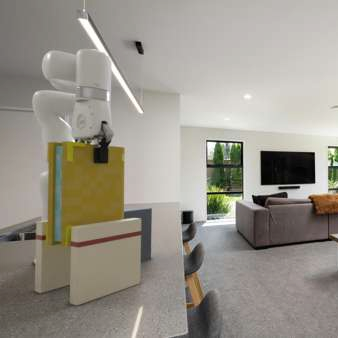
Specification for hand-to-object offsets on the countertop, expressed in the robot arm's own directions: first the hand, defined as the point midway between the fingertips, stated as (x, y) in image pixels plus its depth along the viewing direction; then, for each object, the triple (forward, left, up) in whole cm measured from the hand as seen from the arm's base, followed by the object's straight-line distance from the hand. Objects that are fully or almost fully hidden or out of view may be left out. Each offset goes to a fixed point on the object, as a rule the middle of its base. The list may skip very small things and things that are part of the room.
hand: (92, 162), depth 77 cm
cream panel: (+8, 0, -33) cm, 34 cm away
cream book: (-8, 0, -33) cm, 34 cm away
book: (+1, 0, -20) cm, 20 cm away
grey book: (-11, +17, -33) cm, 39 cm away
